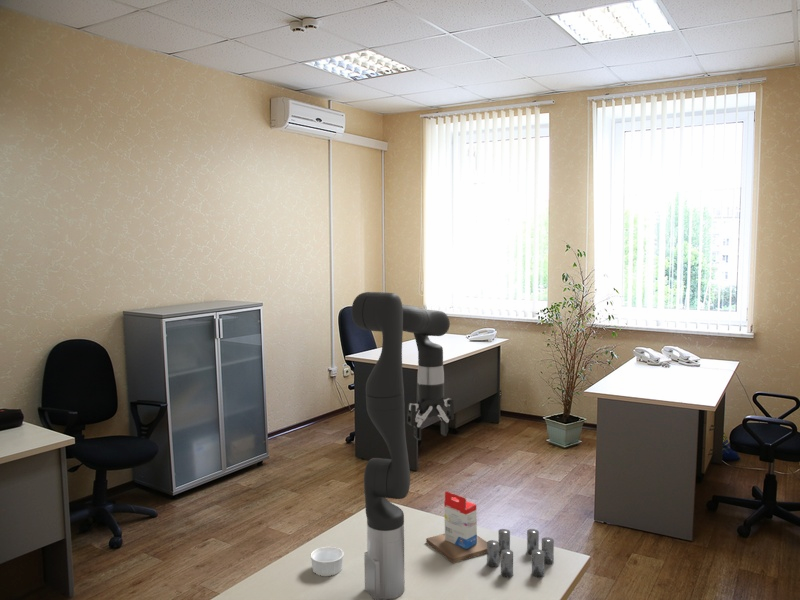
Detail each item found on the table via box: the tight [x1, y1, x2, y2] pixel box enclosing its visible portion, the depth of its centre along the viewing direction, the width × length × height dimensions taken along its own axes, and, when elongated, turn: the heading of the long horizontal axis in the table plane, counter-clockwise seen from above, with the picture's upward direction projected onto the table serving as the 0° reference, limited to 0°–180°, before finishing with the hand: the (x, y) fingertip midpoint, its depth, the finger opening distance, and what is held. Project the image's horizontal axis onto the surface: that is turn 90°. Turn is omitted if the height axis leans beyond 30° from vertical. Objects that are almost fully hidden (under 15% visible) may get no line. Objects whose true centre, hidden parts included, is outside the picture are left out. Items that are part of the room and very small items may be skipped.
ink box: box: [443, 490, 478, 549], centre depth 174 cm, size 8×5×15 cm, turn 43°
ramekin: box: [310, 546, 345, 577], centre depth 162 cm, size 9×9×4 cm
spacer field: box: [486, 528, 555, 579], centre depth 164 cm, size 17×17×6 cm
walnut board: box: [425, 533, 488, 564], centre depth 174 cm, size 14×14×1 cm
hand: (431, 437), depth 172 cm, fingers open, 8 cm apart
